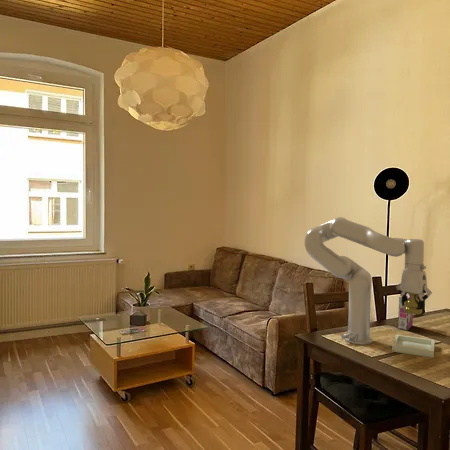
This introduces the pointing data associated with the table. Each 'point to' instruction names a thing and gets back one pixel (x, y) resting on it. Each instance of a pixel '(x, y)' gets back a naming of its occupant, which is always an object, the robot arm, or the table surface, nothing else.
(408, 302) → the brass door knob
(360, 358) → the table surface
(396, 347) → the tray
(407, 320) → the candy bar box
